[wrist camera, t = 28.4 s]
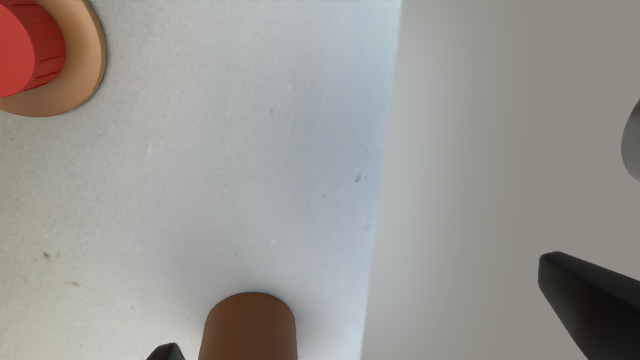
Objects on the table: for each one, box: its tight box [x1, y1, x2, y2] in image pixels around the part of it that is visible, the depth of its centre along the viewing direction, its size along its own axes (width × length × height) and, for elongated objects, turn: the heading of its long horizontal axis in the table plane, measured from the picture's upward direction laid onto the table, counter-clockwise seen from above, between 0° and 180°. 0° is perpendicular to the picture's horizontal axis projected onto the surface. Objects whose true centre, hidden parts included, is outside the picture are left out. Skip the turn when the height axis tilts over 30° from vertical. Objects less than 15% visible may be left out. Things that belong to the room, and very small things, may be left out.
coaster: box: [0, 0, 106, 117], centre depth 17 cm, size 7×7×1 cm
